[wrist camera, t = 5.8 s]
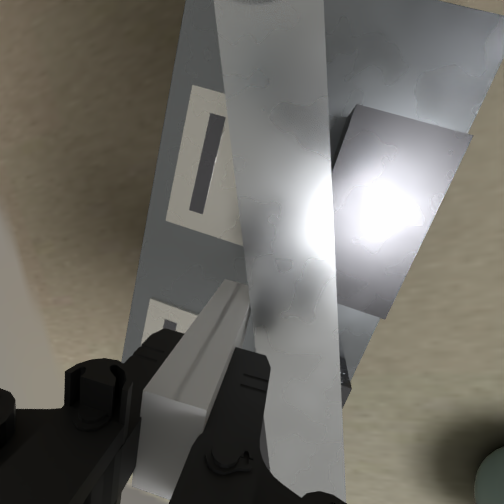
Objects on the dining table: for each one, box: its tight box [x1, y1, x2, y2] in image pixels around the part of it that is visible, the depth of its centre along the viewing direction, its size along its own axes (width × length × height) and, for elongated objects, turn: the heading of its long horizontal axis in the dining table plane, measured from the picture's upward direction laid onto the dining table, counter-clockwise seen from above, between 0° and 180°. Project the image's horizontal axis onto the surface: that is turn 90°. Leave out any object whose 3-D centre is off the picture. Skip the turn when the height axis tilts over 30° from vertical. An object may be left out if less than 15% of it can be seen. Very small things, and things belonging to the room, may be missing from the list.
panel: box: [121, 0, 504, 471], centre depth 15 cm, size 26×14×4 cm, turn 164°
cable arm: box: [214, 0, 346, 503], centre depth 11 cm, size 22×4×3 cm, turn 7°
